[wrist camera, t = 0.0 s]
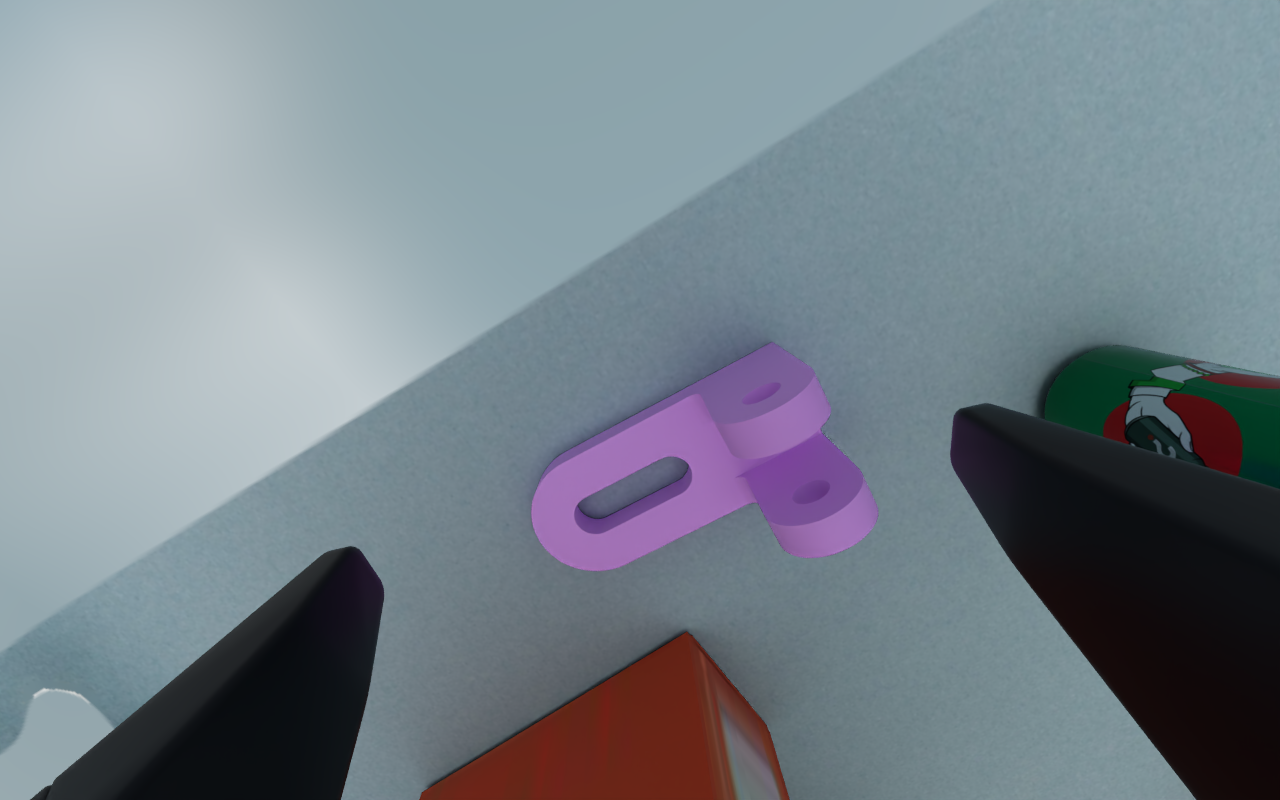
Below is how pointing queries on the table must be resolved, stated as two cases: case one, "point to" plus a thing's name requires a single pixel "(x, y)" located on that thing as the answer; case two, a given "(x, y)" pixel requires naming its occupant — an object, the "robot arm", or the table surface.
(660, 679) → the file binder
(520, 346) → the table surface
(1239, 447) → the soda can
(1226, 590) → the robot arm
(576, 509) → the bracket
